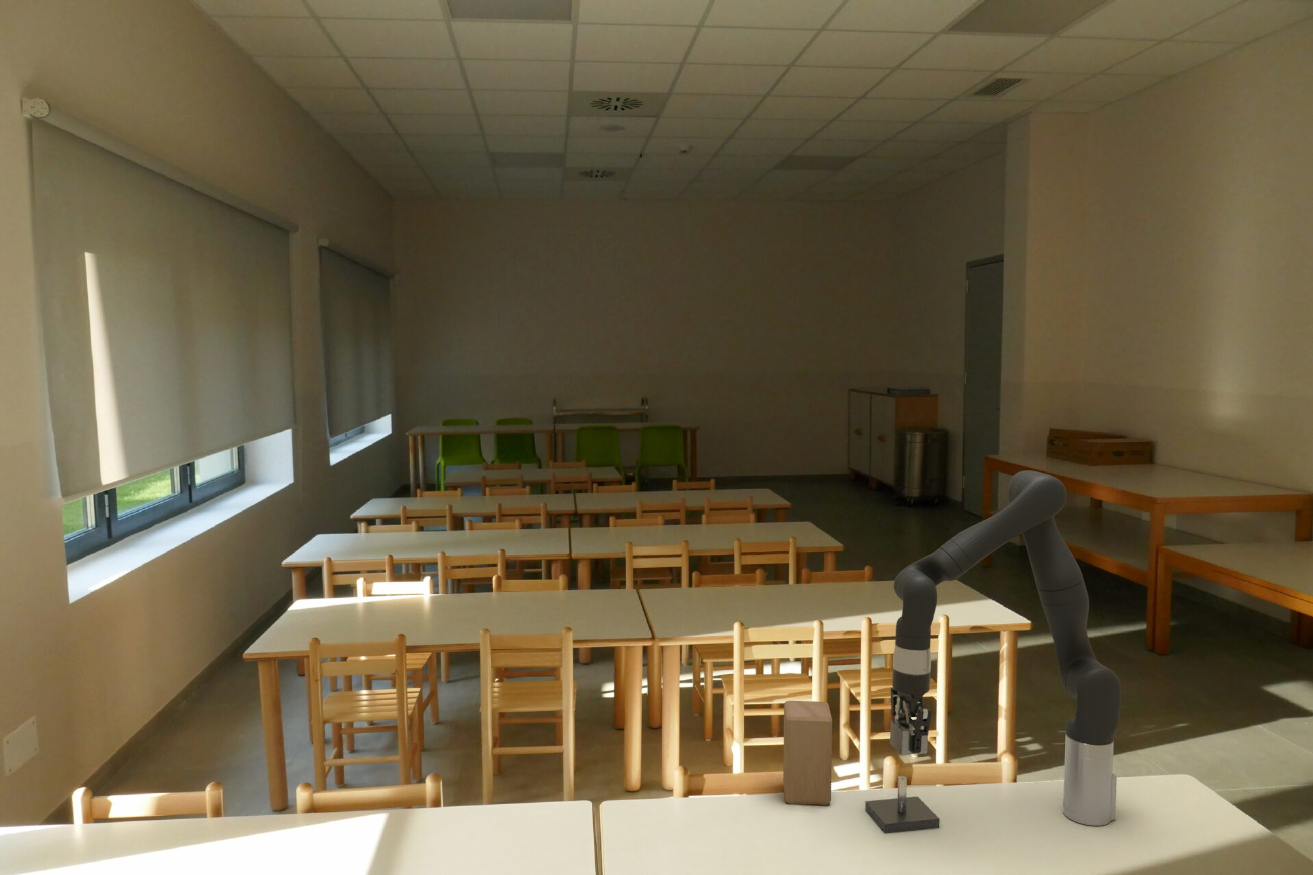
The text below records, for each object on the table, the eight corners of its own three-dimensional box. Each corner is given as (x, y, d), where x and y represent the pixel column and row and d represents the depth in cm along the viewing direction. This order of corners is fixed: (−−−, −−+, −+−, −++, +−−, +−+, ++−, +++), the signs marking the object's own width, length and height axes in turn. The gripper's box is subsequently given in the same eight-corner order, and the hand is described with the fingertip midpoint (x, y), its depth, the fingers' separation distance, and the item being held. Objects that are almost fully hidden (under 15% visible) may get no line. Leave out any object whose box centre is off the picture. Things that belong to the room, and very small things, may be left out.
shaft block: (917, 805, 203) (918, 765, 202) (939, 827, 193) (940, 785, 192) (865, 810, 201) (865, 769, 200) (884, 833, 191) (885, 790, 190)
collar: (914, 742, 198) (915, 719, 197) (927, 753, 192) (928, 729, 192) (889, 743, 197) (890, 720, 196) (901, 754, 191) (902, 731, 191)
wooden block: (827, 785, 212) (828, 700, 210) (831, 806, 202) (832, 717, 201) (783, 784, 213) (783, 698, 211) (784, 804, 203) (785, 715, 202)
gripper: (945, 677, 187) (941, 759, 188) (912, 655, 201) (909, 731, 202) (910, 679, 185) (907, 762, 187) (879, 656, 199) (876, 733, 201)
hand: (908, 745), depth 194 cm, fingers closed on collar, 5 cm apart
